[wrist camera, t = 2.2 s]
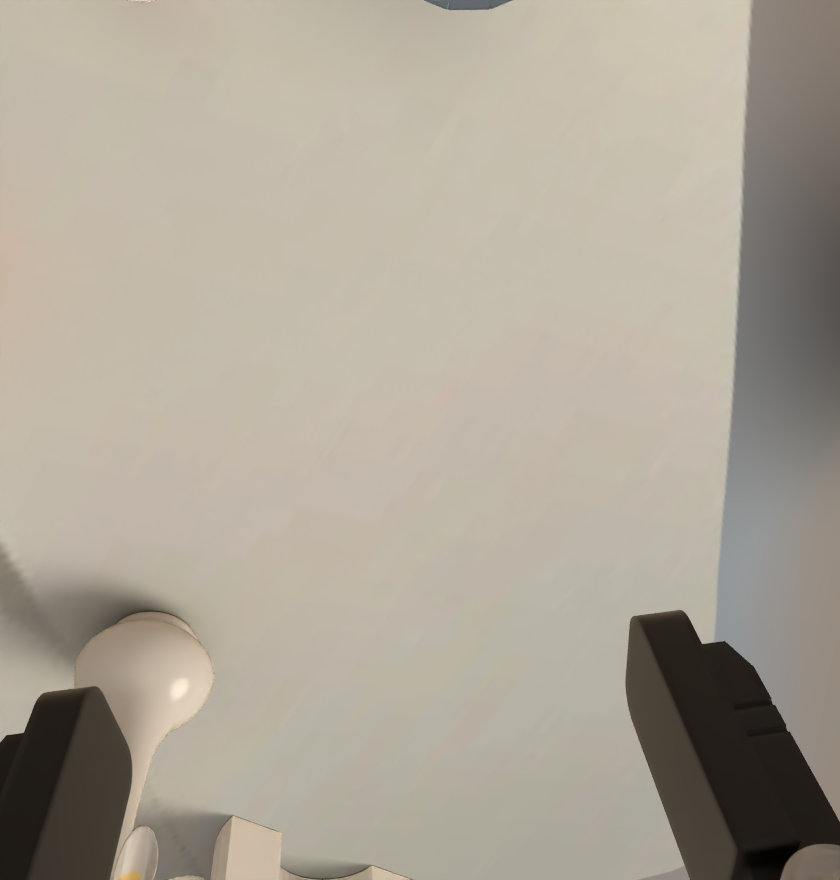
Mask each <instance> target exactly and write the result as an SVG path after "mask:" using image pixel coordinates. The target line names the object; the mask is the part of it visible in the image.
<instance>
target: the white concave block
mask: <svg viewBox="0 0 840 880" xmlns="http://www.w3.org/2000/svg"><path fill="white" fill-rule="evenodd" d="M281 839H282V833H280V832H277V831H274V830H271V829H268V828H266V827H263V826H260V825H257V824H255V823H252V822H249V821H246V820H243V819H241V818H238V817H235V816H232V817H231V818H230V819H229V820H228V821H227V823H226V824H225V825H224V826H223V827H222V829H221V831H220V833H219V835H218V836H217V839H216V844H215V848H214V856H213V863H212V871H211V878H210V880H320V879H309V878H303V877H299V876H296V875H293V874H291V873H288V872H287V871H285V870H283V869H282V868H281V867H280V855H281ZM325 880H411V879H408V878H405V877H403V876H400V875H397V874H394V873H391V872H389V871H386V870H383V869H380V868H377V867H375V866H370V867H369V868H367V869H366V870H364V871H362V872H359V873H357V874H354V875H351V876H347V877H343V878H337V879H325Z"/></svg>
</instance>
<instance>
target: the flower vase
mask: <svg viewBox="0 0 840 880" xmlns="http://www.w3.org/2000/svg"><path fill="white" fill-rule="evenodd" d="M213 680H214V669H213V665H212V661H211V658H210V656H209V654H208V653H207V651H206V650H205V648H204V647H203V645H202V644H201V642H200V641H199V640H197V639H196V636H195V634H194V632H193V631H192V629H191V628H190V627H189V626H188V625H187V624H186V623H185V622H184V621H182V620H180V619H178V618H177V617H175V616H172V615H169V614H166V613H162V612H152V611H150V612H139V613H135V614H132V615H129V616H127V617H125V618H123V619H121V620H120V621H119V622H118V623H117V624H115V625H113V626H111V627H109V628H107V629H105V630H104V631H102V632H100V633H98V634H96V635H95V636H94V637H93V638H92V639H91V640H90V641H89V642H88V643H87V644H86V645H85V646H84V647H83V648H82V650H81V652H80V654H79V656H78V659H77V661H76V663H75V670H74V687H75V689H76V688H83V687H91V686H97V687H98V688H100V690H101V691H102V693H103V694H104V696H105V698H106V701H107V703H108V705H109V707H110V709H111V711H112V713H113V715H114V717H115V719H116V721H117V723H118V725H119V727H120V729H121V731H122V733H123V736H124V738H125V740H126V742H127V744H128V746H129V749H130V753H131V759H132V784H131V790H130V795H129V799H128V803H127V808H126V812H125V816H124V821H123V825H122V829H121V833H120V838H119V842H118V846H117V850H116V855H115V859H114V863H113V868H112V872H111V876H110V880H153V879H154V876H155V873H156V869H157V863H158V844H157V840H156V837H155V834H154V832H153V831H152V829H150V828H149V827H148V826H139V827H138V828H136V829H135V830H134V831H133V828H134V823H135V819H136V815H137V811H138V808H139V804H140V800H141V796H142V793H143V789H144V785H145V781H146V778H147V774H148V771H149V768H150V765H151V762H152V760H153V757H154V755H155V753H156V750H157V748H158V747H159V745H160V744H161V742H162V741H163V740H164V738H165V737H166V736H167V735H168V733H169V732H171V731H173V730H175V729H177V728H179V727H181V726H183V725H184V724H186V723H187V722H188V721H189V720H190V719H191V718H192V717H194V716H195V715H196V714H197V713H198V712H199V711H200V710H201V708H202V707H203V705H204V703H205V702H206V700H207V698H208V696H209V695H210V692H211V690H212V686H213ZM166 880H205V879H203V878H202V877H198V876H192V875H187V876H178V877H173V878H170V879H166Z"/></svg>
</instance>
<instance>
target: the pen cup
mask: <svg viewBox="0 0 840 880" xmlns="http://www.w3.org/2000/svg"><path fill="white" fill-rule="evenodd" d="M424 1H427V2H429V3H432V4H434V5H436V6H439V7H441V8H444V9H448V10H489V9H493V8H495V7H498V6H500V5H502V4H505V3H507V2H510V1H512V0H424Z"/></svg>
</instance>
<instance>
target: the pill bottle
mask: <svg viewBox="0 0 840 880" xmlns="http://www.w3.org/2000/svg"><path fill="white" fill-rule="evenodd" d="M128 1H133V2H151V1H156V0H128Z"/></svg>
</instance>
